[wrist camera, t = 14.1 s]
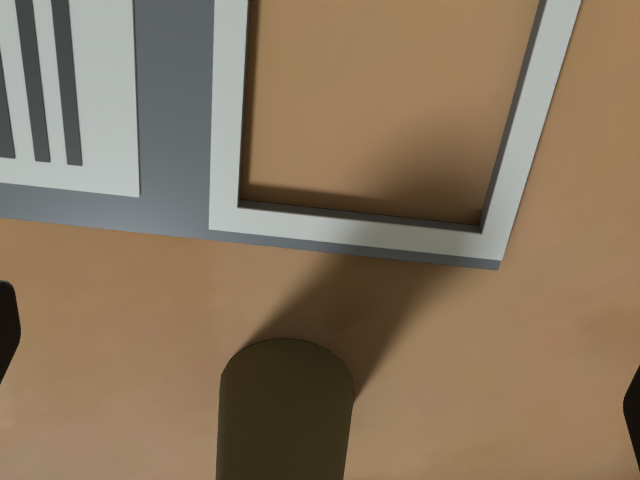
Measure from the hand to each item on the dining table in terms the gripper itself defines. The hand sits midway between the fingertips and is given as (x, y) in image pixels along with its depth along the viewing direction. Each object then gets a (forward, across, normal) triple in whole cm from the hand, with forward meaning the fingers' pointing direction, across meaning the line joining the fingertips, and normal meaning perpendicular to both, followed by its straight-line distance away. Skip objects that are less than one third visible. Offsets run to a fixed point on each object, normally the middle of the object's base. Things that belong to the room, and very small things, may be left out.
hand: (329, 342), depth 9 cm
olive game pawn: (+14, 0, +14) cm, 19 cm away
